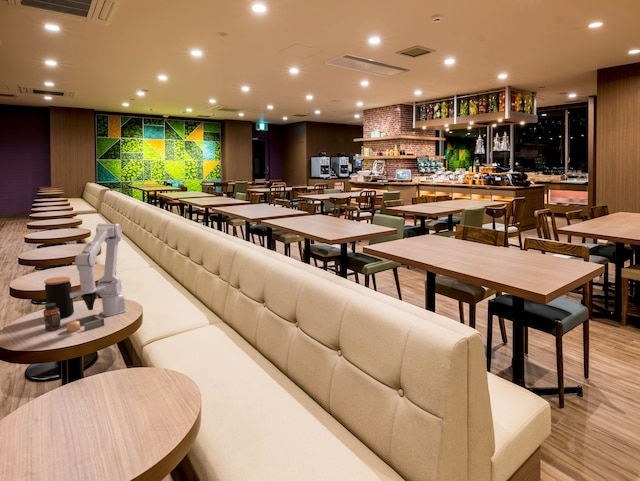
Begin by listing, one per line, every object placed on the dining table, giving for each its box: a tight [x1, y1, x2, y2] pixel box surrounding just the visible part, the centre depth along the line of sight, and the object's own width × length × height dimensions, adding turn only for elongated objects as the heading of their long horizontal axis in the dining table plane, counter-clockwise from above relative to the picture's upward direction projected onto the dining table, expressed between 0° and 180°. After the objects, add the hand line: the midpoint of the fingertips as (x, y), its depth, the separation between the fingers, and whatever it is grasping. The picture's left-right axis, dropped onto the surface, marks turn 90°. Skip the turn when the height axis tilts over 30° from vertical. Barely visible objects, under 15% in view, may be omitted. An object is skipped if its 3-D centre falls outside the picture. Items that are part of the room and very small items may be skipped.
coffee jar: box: [43, 276, 75, 320], centre depth 201 cm, size 11×11×18 cm
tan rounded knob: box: [66, 320, 81, 333], centre depth 184 cm, size 5×5×4 cm
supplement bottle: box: [42, 303, 62, 332], centre depth 185 cm, size 6×6×11 cm
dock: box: [75, 314, 105, 331], centre depth 190 cm, size 8×9×3 cm
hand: (90, 309), depth 186 cm, fingers closed
